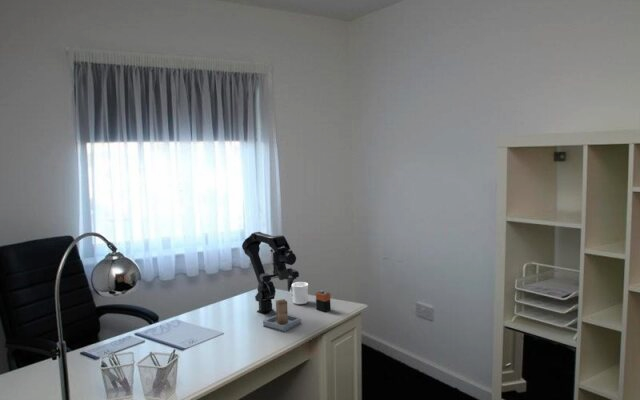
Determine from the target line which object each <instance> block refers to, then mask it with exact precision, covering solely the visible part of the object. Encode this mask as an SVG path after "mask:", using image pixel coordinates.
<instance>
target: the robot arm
mask: <svg viewBox="0 0 640 400" xmlns="http://www.w3.org/2000/svg"><path fill="white" fill-rule="evenodd" d="M262 243H263V244H266V245H268V247H269V248H271V249H270V253H272V266H273V267H272V268H273V270H272V274H269V273H268V272H266V271H265V268H264V266H263V262H262V260H261V257H260V249H261V248H260V245H261V244H262ZM241 247H242V250H243V252H244V254H245V255H246V256H247V257H248V258H249V259H250V263H251V264H252V268H253V271H254V273H255V276H256V280H257V283H258V284H257V293H256V295H255V296H254V299H255V302H258V310H256V312H257V313H259V314H264V315H267V314H270V313H272V312H274V311H275V309H273V302H272V300H274V299H275V297H276V292H277V291H276V287H275V285H274V282H273V281H271V280H273V279H279V281H285V280H286V281H287V291H288V292H289V291H290V290H291V288H292V286H291V285H292V284H293V283H294V281H295V280H297V278H299V277H300V272H299V271H298V270H297V269H294V268H292V267H291V268H287V265H290V266H292V265H294V264H295V263H296V261H297V256H296V254H295V253H294V252H293V250H291V247H290V244H289V243H288V241H287V239H286V237H285V236H284V235H272V234H271V235H270V234H267V233H264V232H260V231H256V232H252V233H251V234H249V236H248V237H247V238H245V239H244V241H243V243H242V244H241Z"/></svg>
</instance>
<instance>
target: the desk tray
mask: <svg viewBox="0 0 640 400" xmlns="http://www.w3.org/2000/svg"><path fill="white" fill-rule="evenodd" d="M301 322H302V321H301V317H299V316H294V315H290V314H288V324H285V325H279V324H277V319H276V314H275V315H273V316H271V317H269V318H267V319H264V320H263V322H262V324H263V327H266V328H269V329H272V330H273V329H274V330H276V331H279V332H286V331H288V330H289V329H291V328H294V327H296V326H298V325H300V324H301Z"/></svg>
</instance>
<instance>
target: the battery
mask: <svg viewBox="0 0 640 400" xmlns="http://www.w3.org/2000/svg"><path fill="white" fill-rule="evenodd" d="M315 308H316V310H317V311H319V312H323V313H327V312H329V311H331V293H329V292H328V291H325V290H323V289H319V290H318V291H317V292H315Z"/></svg>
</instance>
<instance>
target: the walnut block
mask: <svg viewBox="0 0 640 400" xmlns="http://www.w3.org/2000/svg"><path fill="white" fill-rule="evenodd" d="M275 308H276V309H275V312H276V313H275V315H276V319H277V324H279V325H285V324H288V315H289V314H288V311H289V310H288V301H287V300H286V299H285V298H284V299H277V300H275Z"/></svg>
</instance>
